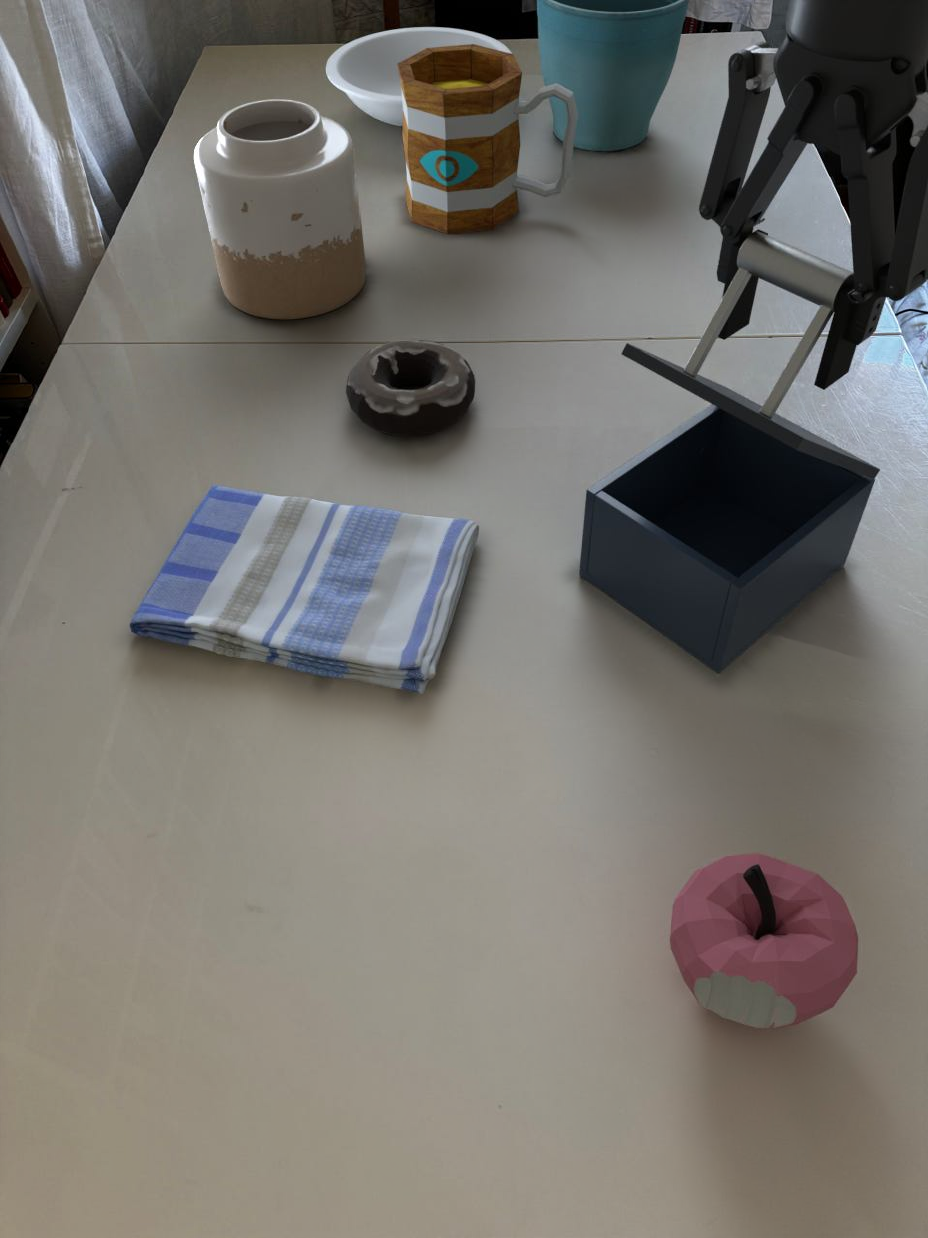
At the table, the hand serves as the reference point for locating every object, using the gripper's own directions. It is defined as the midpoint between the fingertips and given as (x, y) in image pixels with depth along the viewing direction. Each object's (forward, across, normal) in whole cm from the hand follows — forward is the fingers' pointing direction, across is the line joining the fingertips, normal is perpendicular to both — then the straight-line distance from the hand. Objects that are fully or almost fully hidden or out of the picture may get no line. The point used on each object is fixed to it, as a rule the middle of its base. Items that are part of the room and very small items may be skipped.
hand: (780, 352), depth 68 cm
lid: (+5, 0, -1) cm, 5 cm away
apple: (+19, +21, -27) cm, 39 cm away
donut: (+19, -32, -5) cm, 38 cm away
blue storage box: (+19, 0, -2) cm, 19 cm away
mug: (+19, -54, +26) cm, 63 cm away
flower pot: (+19, -58, +49) cm, 78 cm away
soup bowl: (+19, -79, +37) cm, 89 cm away
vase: (+19, -57, 0) cm, 60 cm away
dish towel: (+19, -20, -26) cm, 38 cm away
